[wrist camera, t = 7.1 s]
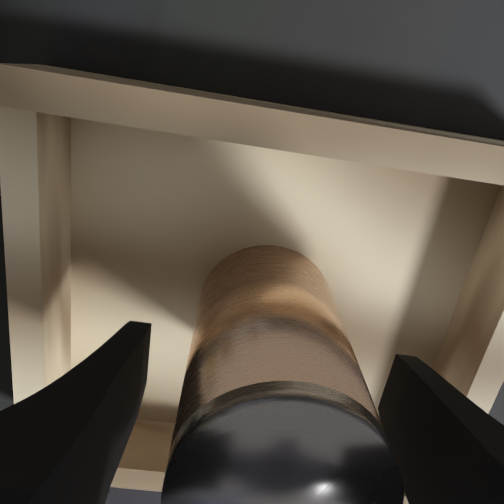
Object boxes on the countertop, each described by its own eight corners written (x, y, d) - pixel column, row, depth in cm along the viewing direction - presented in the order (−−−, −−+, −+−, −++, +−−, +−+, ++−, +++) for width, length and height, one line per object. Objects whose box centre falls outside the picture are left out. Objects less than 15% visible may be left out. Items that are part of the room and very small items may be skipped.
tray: (412, 456, 20) (440, 519, 17) (51, 417, 19) (18, 477, 16) (535, 145, 15) (603, 162, 12) (44, 64, 13) (-8, 62, 11)
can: (312, 368, 17) (363, 593, 10) (191, 349, 17) (148, 568, 9) (346, 258, 15) (440, 430, 8) (211, 233, 15) (178, 391, 8)
